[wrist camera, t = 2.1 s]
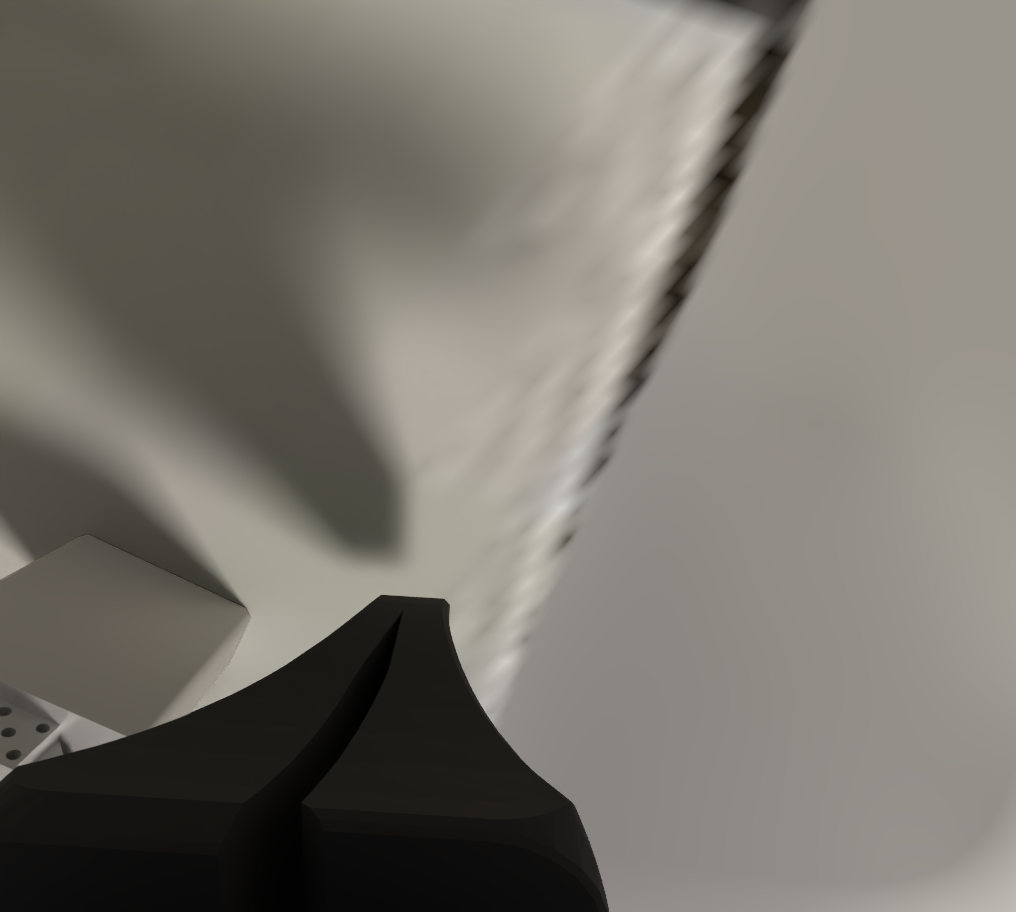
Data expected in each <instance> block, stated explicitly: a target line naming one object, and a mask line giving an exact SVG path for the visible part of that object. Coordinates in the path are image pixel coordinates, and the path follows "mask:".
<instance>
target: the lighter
mask: <svg viewBox="0 0 1016 912" xmlns="http://www.w3.org/2000/svg"><path fill="white" fill-rule="evenodd" d="M249 620H250V616H249V613H248V611H247V609H246V608H244V607H242V606H240V605H238V604H235V603H233V602H231V601H229V600H227V599H225V598H223V597H220V596H218V595H216V594H214V593H212V592H210V591H208V590H206V589H203V588H201V587H199V586H197V585H195V584H193V583H191V582H189V581H186V580H184V579H182V578H180V577H178V576H176V575H174V574H171V573H169V572H167V571H165V570H163V569H161V568H159V567H157V566H154V565H152V564H150V563H148V562H146V561H144V560H142V559H140V558H137V557H135V556H133V555H131V554H129V553H127V552H125V551H123V550H120V549H118V548H116V547H114V546H112V545H110V544H108V543H105V542H103V541H101V540H99V539H97V538H95V537H93V536H91V535H88V534H87V535H84V536H80V537H78V538H76V539H74V540H72V541H70V542H68V543H67V544H65V545H63V546H61V547H59V548H58V549H56V550H54V551H52V552H50V553H48V554H47V555H45V556H43V557H41V558H39V559H37V560H36V561H34V562H32V563H30V564H28V565H27V566H25V567H23V568H21V569H19V570H17V571H16V572H14V573H12V574H10V575H8V576H7V577H5V578H3V579H1V580H0V781H1V780H2V779H3V778H4V777H5V776H7V775H8V774H9V773H10V772H11V771H12V770H13V769H14V768H15V767H17V766H21V765H25V764H29V763H33V762H37V761H41V760H45V759H49V758H53V757H56V756H60V755H64V754H68V753H71V752H75V751H79V750H83V749H87V748H90V747H94V746H98V745H101V744H104V743H108V742H111V741H114V740H117V739H120V738H123V737H126V736H129V735H132V734H135V733H138V732H141V731H144V730H147V729H150V728H153V727H156V726H158V725H161V724H164V723H166V722H169V721H172V720H175V719H177V718H180V717H182V716H185V715H187V714H189V713H191V712H192V710H193V709H194V708H195V707H196V705H197V704H198V703H199V701H200V700H201V699H202V698H203V696H204V695H205V694H206V693H207V691H208V690H209V689H210V687H211V686H212V685H213V684H214V682H215V681H216V680H217V678H218V677H219V676H220V675H221V673H222V672H223V671H224V670H225V668H226V667H227V666H228V664H229V662H230V660H231V658H232V656H233V654H234V652H235V650H236V647H237V645H238V643H239V641H240V639H241V637H242V635H243V633H244V631H245V629H246V626H247V624H248V622H249Z"/></svg>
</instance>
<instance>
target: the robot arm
mask: <svg viewBox="0 0 1016 912" xmlns="http://www.w3.org/2000/svg"><path fill="white" fill-rule="evenodd" d="M449 610H450V605H449V604H448V603H447V601H446V600H445V599H438V598H422V597H406V596H390V595H380V596H379V597H378V598H376V599H375V600H374V601H372V602H371V603H370V604H369V605H367V606H366V607H365V608H364V609H363V610H361V611H360V612H359V613H358V614H356V615H355V616H354V617H352V618H351V619H350V620H349V621H347V622H346V623H345V624H343V625H342V626H341V627H340V628H338V629H337V630H336V631H334V632H333V633H332V634H330V635H329V636H328V637H326V638H325V639H324V640H322V641H321V642H319V643H318V644H316V645H315V646H313V647H312V648H310V649H309V650H307V651H306V652H304V653H303V654H302V655H300V656H299V657H297V658H296V659H294V660H293V661H291V662H290V663H288V664H287V665H285V666H283V667H282V668H280V669H278V670H277V671H275V672H273V673H272V674H270V675H268V676H266V677H265V678H263V679H261V680H259V681H257V682H255V683H253V684H251V685H250V686H248V687H246V688H244V689H242V690H240V691H238V692H236V693H234V694H232V695H230V696H228V697H225V698H223V699H221V700H219V701H216V702H214V703H212V704H210V705H207V706H205V707H203V708H200V709H198V710H196V711H194V712H191V713H189V714H187V715H185V716H182V717H180V718H177V719H175V720H172V721H169V722H166V723H164V724H161V725H158V726H156V727H153V728H150V729H147V730H144V731H141V732H138V733H135V734H132V735H129V736H126V737H123V738H120V739H117V740H114V741H111V742H108V743H104V744H101V745H98V746H94V747H90V748H87V749H83V750H79V751H75V752H71V753H68V754H64V755H60V756H56V757H53V758H49V759H45V760H41V761H37V762H33V763H29V764H25V765H21V766H17V767H15V768H14V769H13V770H12V771H11V772H10V773H9V774H8V775H7V776H5V777H4V778H3V779H2V780H1V781H0V912H609V908H608V904H607V899H606V894H605V891H604V887H603V884H602V879H601V876H600V873H599V869H598V866H597V863H596V859H595V857H594V854H593V851H592V848H591V845H590V842H589V840H588V837H587V834H586V832H585V829H584V827H583V825H582V822H581V820H580V817H579V815H578V812H577V810H576V808H575V806H574V804H573V803H572V802H571V801H570V800H569V799H567V798H566V797H565V796H564V795H562V794H561V793H560V792H558V791H557V790H556V789H555V788H554V787H552V786H551V785H550V784H549V783H547V782H546V781H545V780H543V779H542V778H541V777H540V776H538V775H537V774H536V773H535V772H534V771H533V770H531V769H530V767H529V766H528V765H526V764H525V763H524V762H523V761H522V760H521V758H520V757H519V756H518V755H517V754H516V752H515V751H514V750H513V749H512V748H511V746H510V745H509V744H508V743H507V742H506V741H505V739H504V738H503V737H502V735H501V734H500V733H499V732H498V731H497V729H496V728H495V726H494V725H493V723H492V722H491V720H490V719H489V717H488V716H487V714H486V713H485V711H484V710H483V708H482V706H481V705H480V703H479V701H478V700H477V698H476V696H475V694H474V692H473V690H472V688H471V686H470V684H469V682H468V680H467V678H466V676H465V673H464V671H463V669H462V666H461V664H460V661H459V659H458V656H457V653H456V649H455V646H454V643H453V640H452V636H451V632H450V627H449Z"/></svg>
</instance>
